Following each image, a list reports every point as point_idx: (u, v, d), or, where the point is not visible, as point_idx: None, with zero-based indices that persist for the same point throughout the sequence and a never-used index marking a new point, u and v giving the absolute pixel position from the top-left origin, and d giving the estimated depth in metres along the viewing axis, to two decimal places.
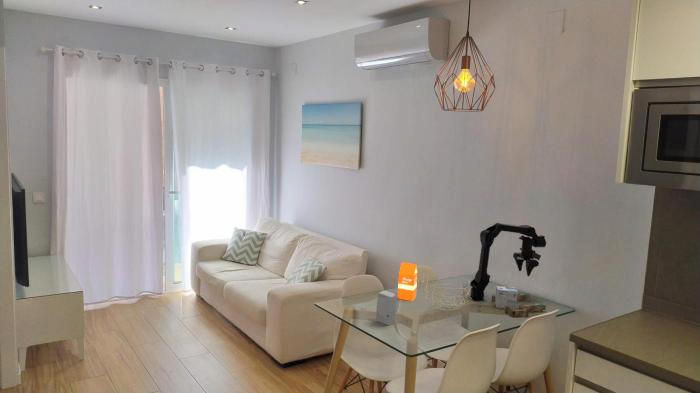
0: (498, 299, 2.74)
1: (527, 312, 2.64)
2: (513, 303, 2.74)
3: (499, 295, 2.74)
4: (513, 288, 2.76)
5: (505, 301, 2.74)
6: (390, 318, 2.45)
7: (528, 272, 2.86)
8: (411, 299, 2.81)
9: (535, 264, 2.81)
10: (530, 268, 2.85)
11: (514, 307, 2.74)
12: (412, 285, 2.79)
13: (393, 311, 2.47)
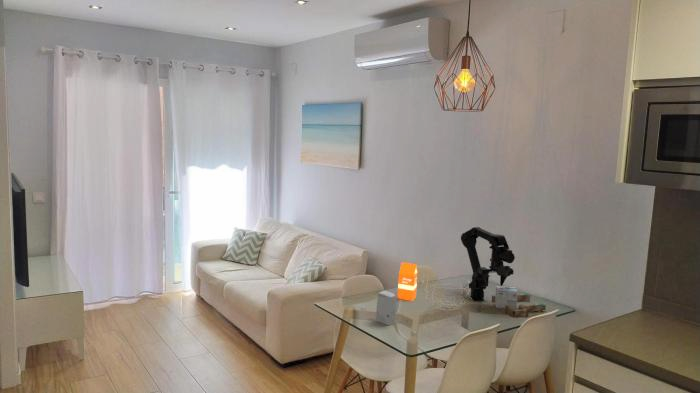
0: (498, 299, 2.74)
1: (527, 312, 2.64)
2: (513, 303, 2.74)
3: (499, 295, 2.74)
4: (513, 288, 2.76)
5: (505, 301, 2.74)
6: (390, 318, 2.45)
7: (485, 281, 2.74)
8: (411, 299, 2.81)
9: (480, 272, 2.71)
10: (485, 277, 2.73)
11: (514, 307, 2.74)
12: (412, 285, 2.79)
13: (393, 311, 2.47)
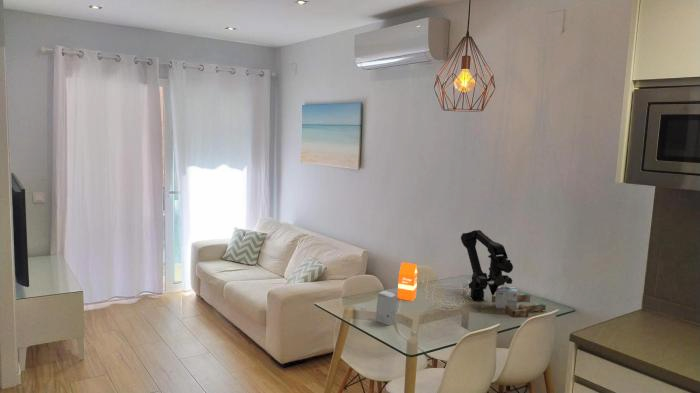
0: (498, 299, 2.74)
1: (527, 312, 2.64)
2: (513, 303, 2.74)
3: (499, 295, 2.74)
4: (513, 288, 2.76)
5: (505, 301, 2.74)
6: (390, 318, 2.45)
7: (491, 290, 2.75)
8: (411, 299, 2.81)
9: (478, 281, 2.72)
10: (491, 286, 2.74)
11: (514, 307, 2.74)
12: (412, 285, 2.79)
13: (393, 311, 2.47)
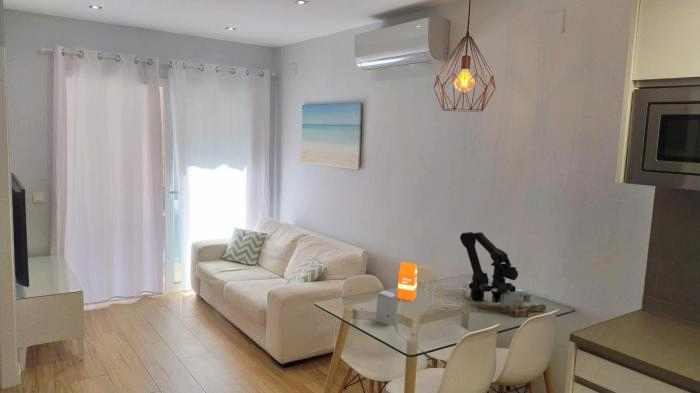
0: (504, 299, 2.75)
1: (527, 312, 2.64)
2: (520, 303, 2.74)
3: (505, 295, 2.74)
4: (519, 288, 2.77)
5: (511, 301, 2.74)
6: (390, 318, 2.45)
7: (494, 297, 2.76)
8: (411, 299, 2.81)
9: (481, 288, 2.73)
10: None
11: None
12: (412, 285, 2.79)
13: (393, 311, 2.47)
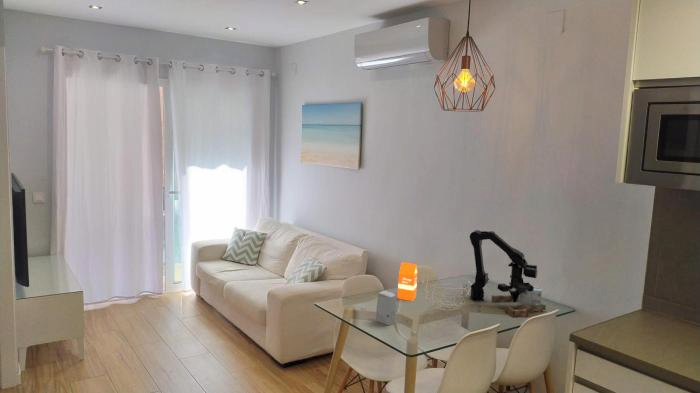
0: (522, 299, 2.77)
1: (527, 312, 2.64)
2: (538, 303, 2.76)
3: (524, 295, 2.76)
4: (537, 288, 2.79)
5: (530, 301, 2.76)
6: (390, 318, 2.45)
7: (512, 297, 2.78)
8: (411, 299, 2.81)
9: (500, 288, 2.74)
10: (512, 294, 2.77)
11: None
12: (412, 285, 2.79)
13: (393, 311, 2.47)
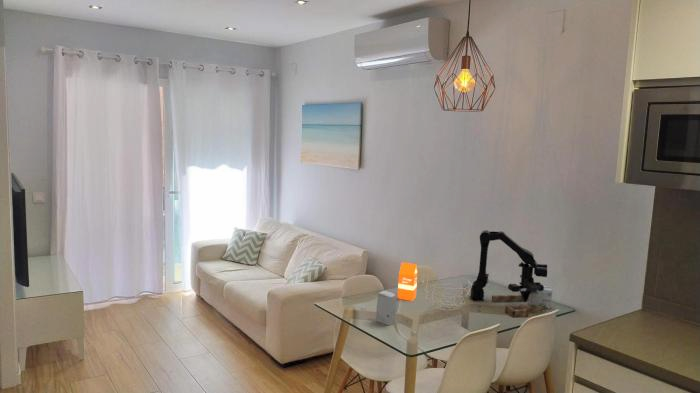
0: (533, 298, 2.78)
1: (527, 312, 2.64)
2: (548, 302, 2.78)
3: (534, 294, 2.78)
4: (547, 287, 2.80)
5: (540, 300, 2.78)
6: (390, 318, 2.45)
7: (523, 297, 2.79)
8: (411, 299, 2.81)
9: (510, 288, 2.76)
10: None
11: (549, 306, 2.78)
12: (412, 285, 2.79)
13: (393, 311, 2.47)
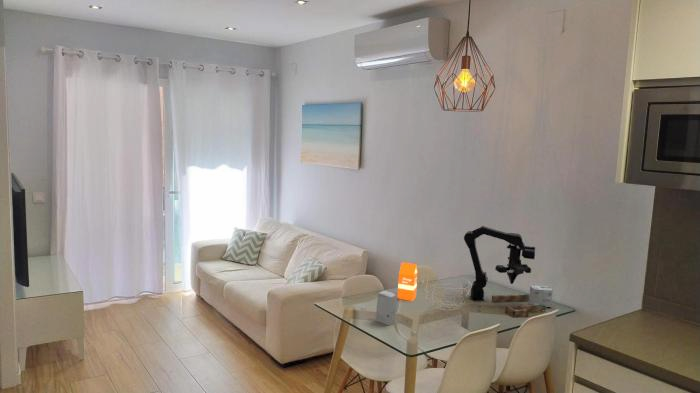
0: (534, 298, 2.78)
1: (527, 312, 2.64)
2: (548, 302, 2.78)
3: (535, 294, 2.78)
4: (547, 287, 2.81)
5: (541, 300, 2.78)
6: (390, 318, 2.45)
7: (510, 279, 2.81)
8: (411, 299, 2.81)
9: (498, 269, 2.77)
10: (510, 275, 2.80)
11: (549, 306, 2.79)
12: (412, 285, 2.79)
13: (393, 311, 2.47)
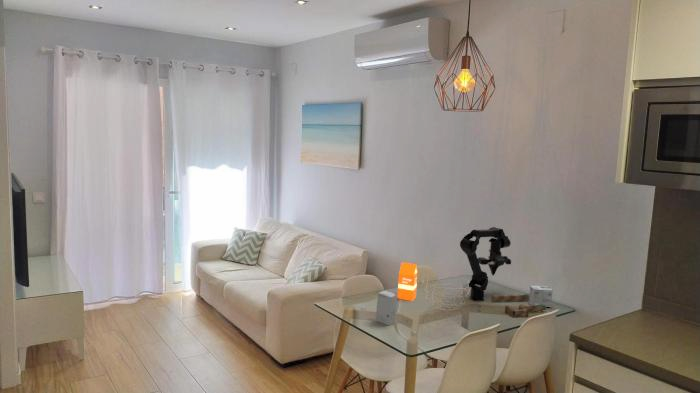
0: (534, 298, 2.78)
1: (527, 312, 2.64)
2: (548, 302, 2.78)
3: (535, 294, 2.78)
4: (547, 287, 2.81)
5: (541, 300, 2.78)
6: (390, 318, 2.45)
7: (491, 270, 2.94)
8: (411, 299, 2.81)
9: (479, 261, 2.91)
10: (491, 267, 2.93)
11: (549, 306, 2.79)
12: (412, 285, 2.79)
13: (393, 311, 2.47)
